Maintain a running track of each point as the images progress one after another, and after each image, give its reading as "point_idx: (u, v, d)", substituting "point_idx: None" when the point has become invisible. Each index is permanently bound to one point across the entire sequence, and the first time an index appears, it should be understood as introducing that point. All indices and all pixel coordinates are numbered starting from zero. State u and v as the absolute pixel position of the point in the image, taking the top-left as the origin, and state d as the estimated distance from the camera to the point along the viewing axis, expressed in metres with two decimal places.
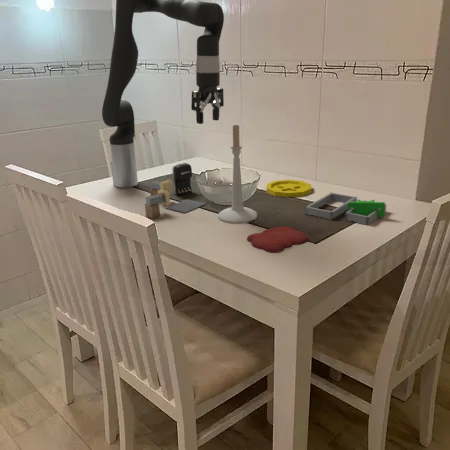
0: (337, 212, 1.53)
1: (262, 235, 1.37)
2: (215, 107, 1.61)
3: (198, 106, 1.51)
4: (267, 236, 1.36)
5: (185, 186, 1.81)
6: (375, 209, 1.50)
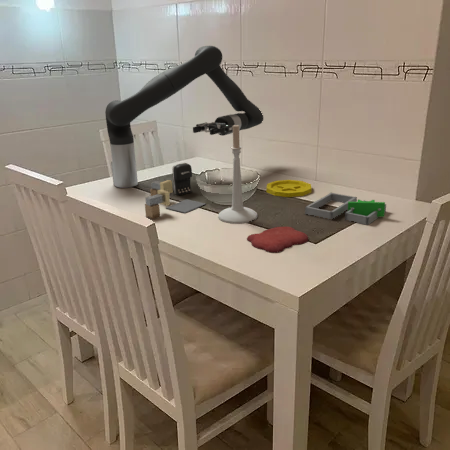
0: (337, 212, 1.53)
1: (262, 235, 1.37)
2: (201, 128, 1.88)
3: None
4: (267, 236, 1.36)
5: (185, 186, 1.81)
6: (375, 209, 1.50)
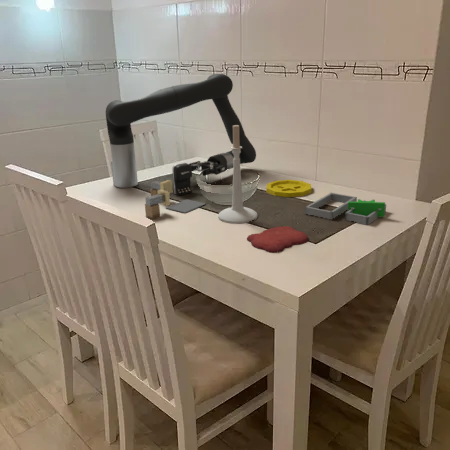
0: (337, 212, 1.53)
1: (262, 235, 1.37)
2: (193, 167, 1.90)
3: None
4: (267, 236, 1.36)
5: (185, 186, 1.81)
6: (375, 209, 1.50)
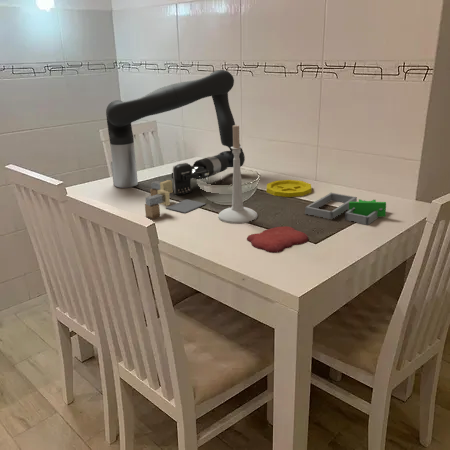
0: (337, 212, 1.53)
1: (262, 235, 1.37)
2: None
3: None
4: (267, 236, 1.36)
5: (185, 186, 1.81)
6: (376, 209, 1.50)
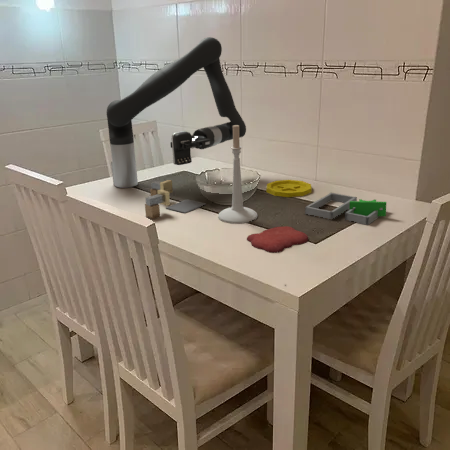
0: (337, 212, 1.53)
1: (262, 235, 1.37)
2: None
3: None
4: (267, 236, 1.36)
5: (185, 156, 1.72)
6: (377, 208, 1.50)
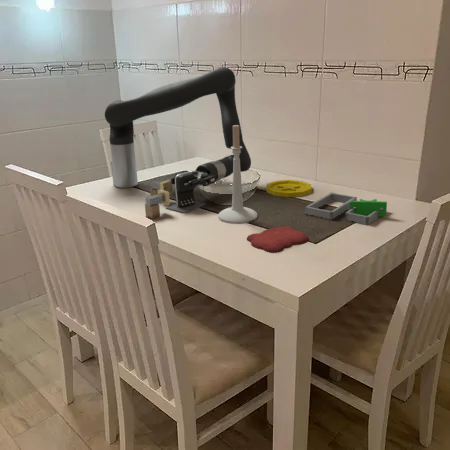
0: (337, 212, 1.53)
1: (262, 235, 1.37)
2: None
3: None
4: (267, 236, 1.36)
5: (188, 197, 1.67)
6: (377, 208, 1.51)
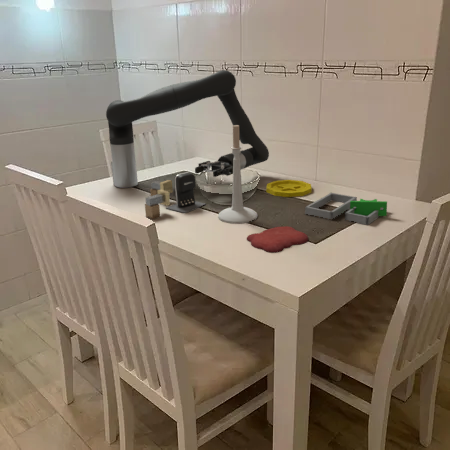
0: (337, 212, 1.53)
1: (262, 235, 1.37)
2: (203, 168, 1.78)
3: None
4: (267, 236, 1.36)
5: (188, 197, 1.67)
6: (377, 208, 1.51)
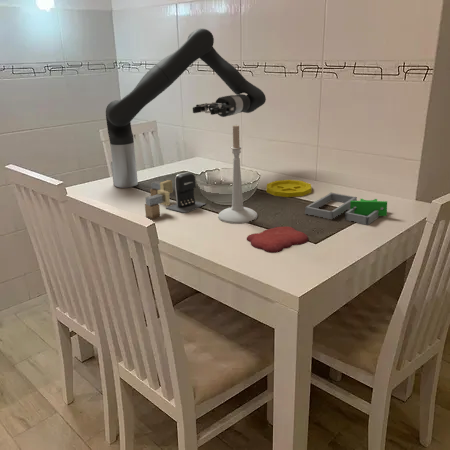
0: (337, 212, 1.53)
1: (262, 235, 1.37)
2: (201, 108, 1.80)
3: None
4: (267, 236, 1.36)
5: (188, 197, 1.67)
6: (377, 208, 1.51)
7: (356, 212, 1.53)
